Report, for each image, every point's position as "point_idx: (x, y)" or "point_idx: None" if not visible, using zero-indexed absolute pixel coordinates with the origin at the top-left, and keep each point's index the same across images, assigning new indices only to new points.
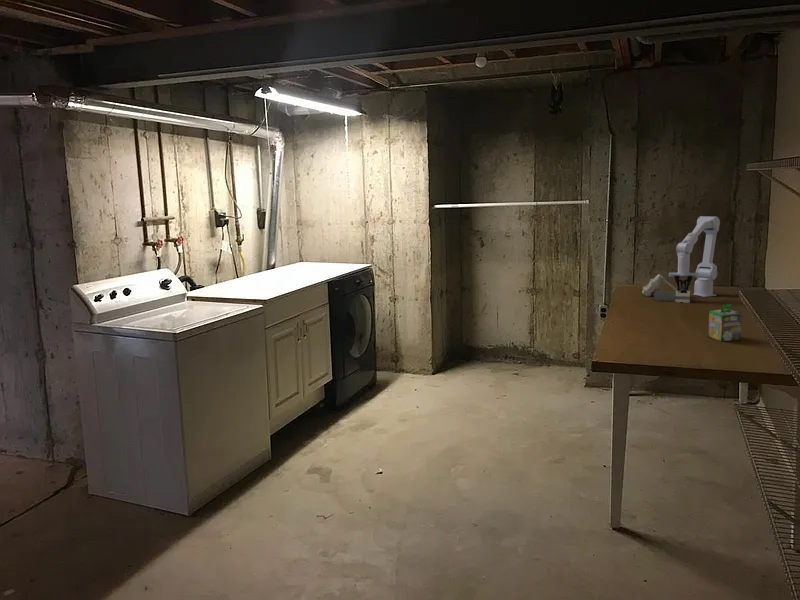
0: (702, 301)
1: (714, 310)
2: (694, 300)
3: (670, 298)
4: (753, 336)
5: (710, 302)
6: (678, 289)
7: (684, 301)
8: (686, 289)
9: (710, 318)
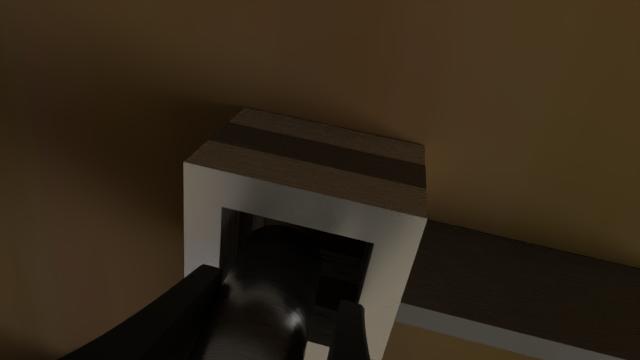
0: (108, 177)
1: None
2: None
3: (471, 250)
4: None
5: (25, 116)
6: (356, 310)
7: (304, 127)
8: None
9: None
